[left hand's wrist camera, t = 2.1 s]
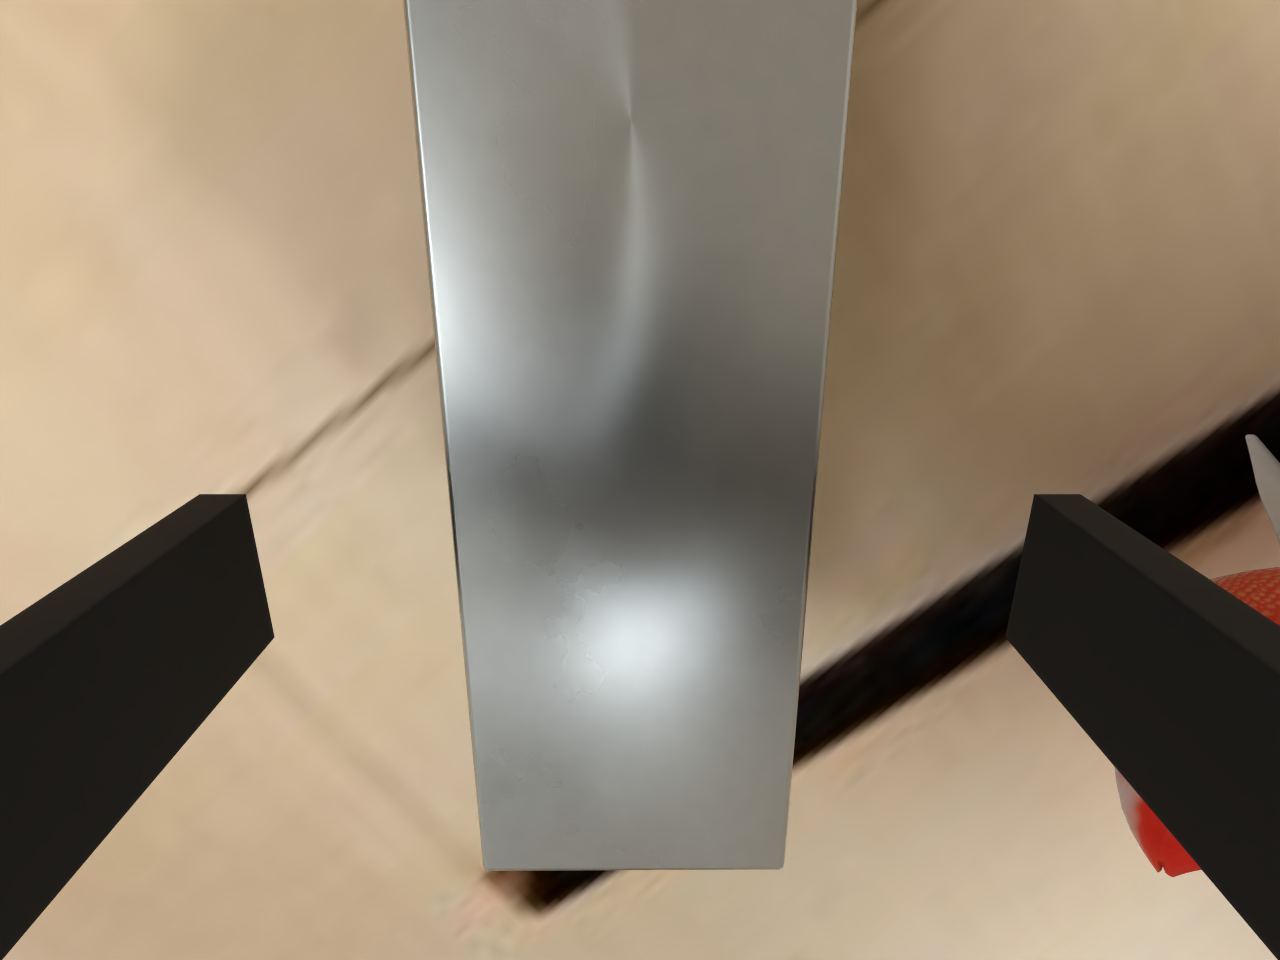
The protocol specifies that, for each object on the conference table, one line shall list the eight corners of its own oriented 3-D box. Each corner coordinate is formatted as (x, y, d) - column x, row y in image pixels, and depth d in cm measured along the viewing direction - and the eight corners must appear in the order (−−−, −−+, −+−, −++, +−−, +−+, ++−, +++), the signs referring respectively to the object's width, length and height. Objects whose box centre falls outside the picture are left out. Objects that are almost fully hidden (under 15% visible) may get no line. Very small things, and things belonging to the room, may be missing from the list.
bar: (725, 608, 20) (784, 871, 12) (544, 609, 20) (482, 873, 12) (774, -529, 13) (1016, -1839, 5) (488, -530, 13) (228, -1847, 5)
